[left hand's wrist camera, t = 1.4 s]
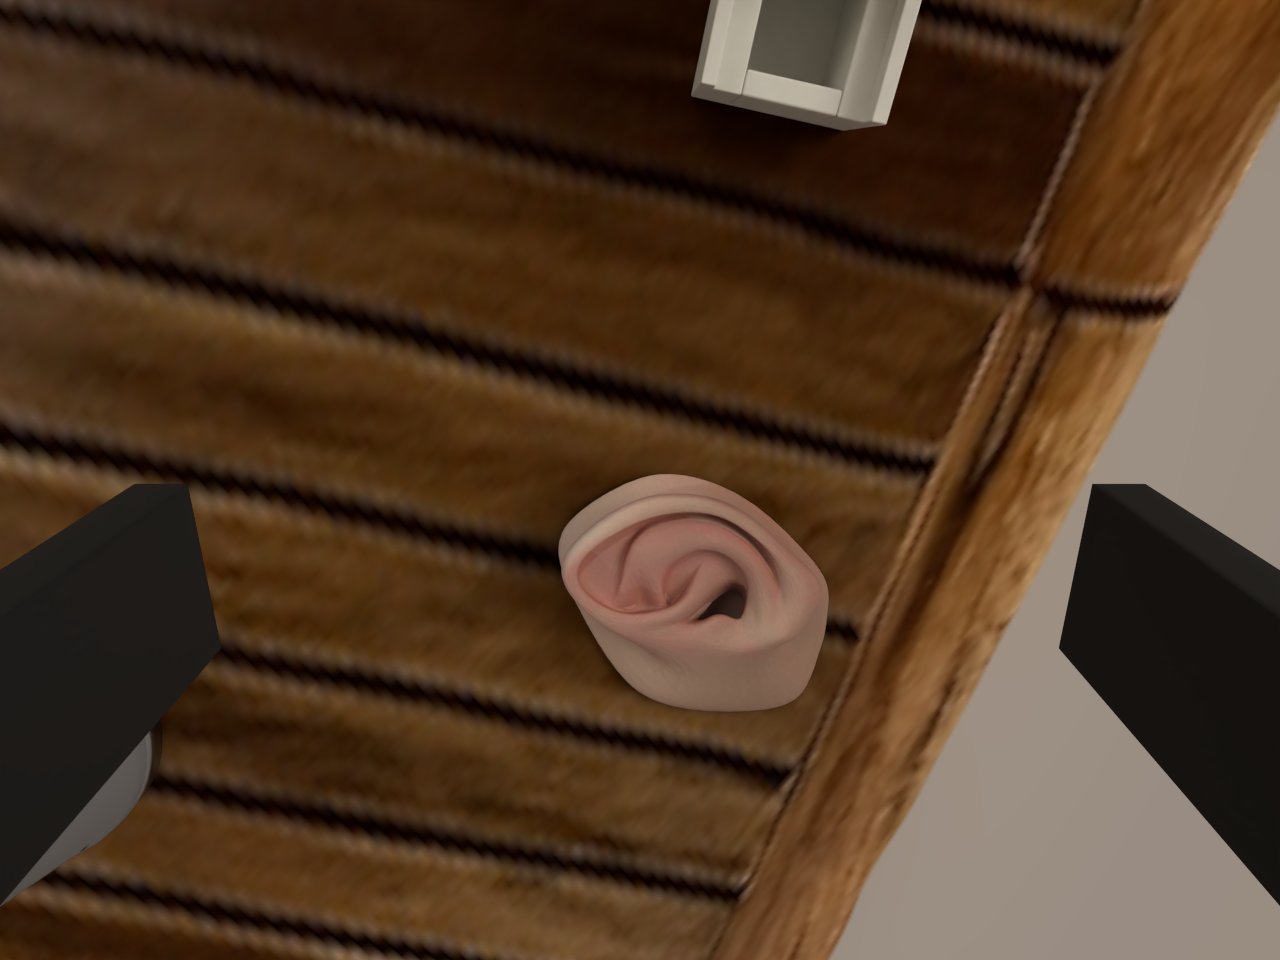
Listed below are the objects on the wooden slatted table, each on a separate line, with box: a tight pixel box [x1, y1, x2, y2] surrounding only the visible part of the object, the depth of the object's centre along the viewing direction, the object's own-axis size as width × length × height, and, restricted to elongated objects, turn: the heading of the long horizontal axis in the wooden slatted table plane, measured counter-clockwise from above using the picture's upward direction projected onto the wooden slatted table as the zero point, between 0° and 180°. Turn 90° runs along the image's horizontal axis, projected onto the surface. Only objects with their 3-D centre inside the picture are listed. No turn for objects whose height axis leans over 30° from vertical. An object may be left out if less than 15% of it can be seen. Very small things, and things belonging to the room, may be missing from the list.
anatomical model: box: [558, 474, 829, 712], centre depth 37 cm, size 13×4×12 cm
